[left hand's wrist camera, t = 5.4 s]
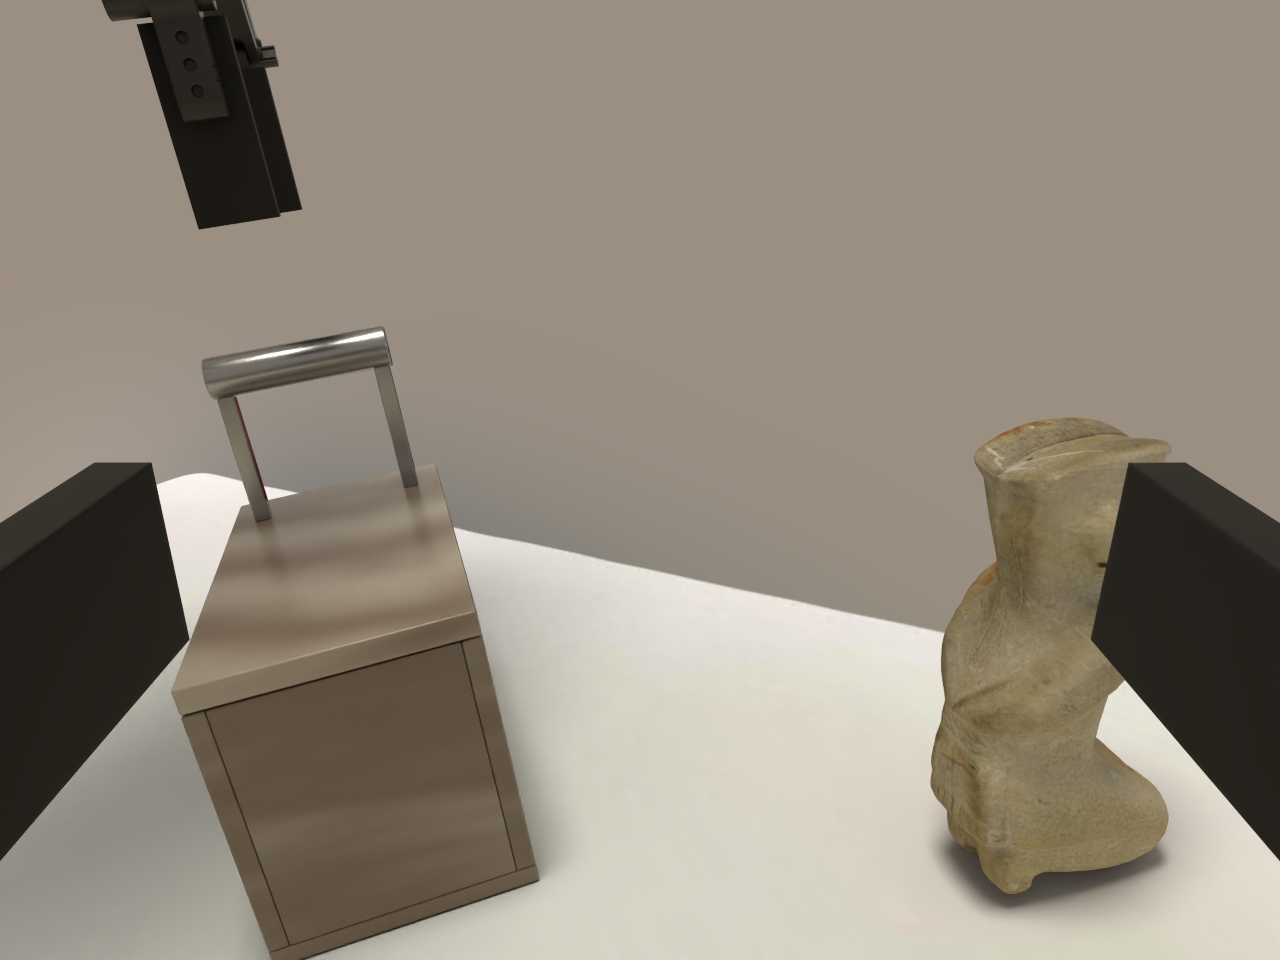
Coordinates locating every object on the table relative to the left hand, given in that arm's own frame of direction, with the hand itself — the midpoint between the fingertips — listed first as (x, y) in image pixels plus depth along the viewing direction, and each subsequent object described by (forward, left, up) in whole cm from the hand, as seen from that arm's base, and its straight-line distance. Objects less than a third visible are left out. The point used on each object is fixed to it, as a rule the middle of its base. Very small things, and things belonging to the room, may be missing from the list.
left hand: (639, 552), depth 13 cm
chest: (+24, -9, -20) cm, 33 cm away
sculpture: (-1, -18, -20) cm, 27 cm away
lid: (+25, -10, -9) cm, 28 cm away
